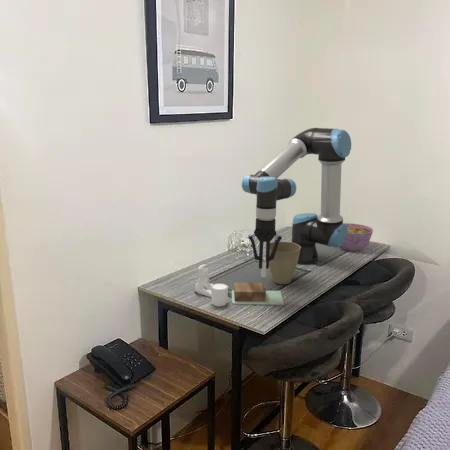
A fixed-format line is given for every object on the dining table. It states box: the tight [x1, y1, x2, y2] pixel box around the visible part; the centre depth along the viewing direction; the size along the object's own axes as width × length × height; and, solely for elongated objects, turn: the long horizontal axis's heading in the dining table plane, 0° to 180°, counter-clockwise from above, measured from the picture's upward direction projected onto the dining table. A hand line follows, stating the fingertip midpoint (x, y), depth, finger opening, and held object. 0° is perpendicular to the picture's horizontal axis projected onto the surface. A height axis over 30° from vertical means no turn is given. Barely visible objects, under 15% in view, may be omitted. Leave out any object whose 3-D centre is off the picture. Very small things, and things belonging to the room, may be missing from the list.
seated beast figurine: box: [194, 264, 214, 298], centre depth 184 cm, size 10×9×12 cm
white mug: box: [210, 282, 229, 307], centre depth 175 cm, size 7×7×7 cm
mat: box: [231, 289, 285, 306], centre depth 181 cm, size 20×12×1 cm, turn 90°
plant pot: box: [268, 240, 301, 285], centre depth 197 cm, size 15×15×16 cm
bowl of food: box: [339, 222, 374, 252], centre depth 241 cm, size 20×20×12 cm
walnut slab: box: [233, 282, 267, 302], centre depth 181 cm, size 4×9×12 cm
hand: (263, 276), depth 179 cm, fingers closed
